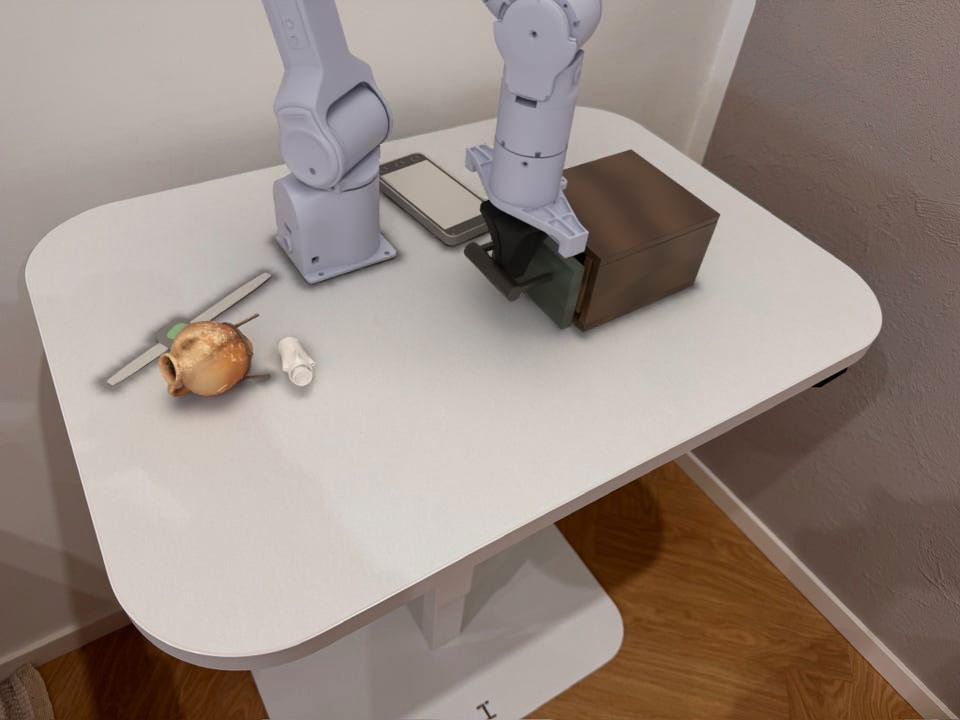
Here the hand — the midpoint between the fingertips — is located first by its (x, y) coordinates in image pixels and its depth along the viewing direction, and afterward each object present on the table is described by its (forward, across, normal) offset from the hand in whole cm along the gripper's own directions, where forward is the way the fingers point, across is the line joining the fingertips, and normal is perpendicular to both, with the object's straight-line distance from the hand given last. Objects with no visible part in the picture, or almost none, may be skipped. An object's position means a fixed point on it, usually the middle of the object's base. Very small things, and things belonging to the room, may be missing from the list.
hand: (510, 274), depth 67 cm
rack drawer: (+3, 0, -6) cm, 7 cm away
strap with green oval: (+4, +12, +26) cm, 29 cm away
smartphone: (+4, +18, -3) cm, 18 cm away
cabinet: (+4, 0, -12) cm, 12 cm away
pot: (+3, +6, +27) cm, 28 cm away
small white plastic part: (+4, +2, +20) cm, 21 cm away
